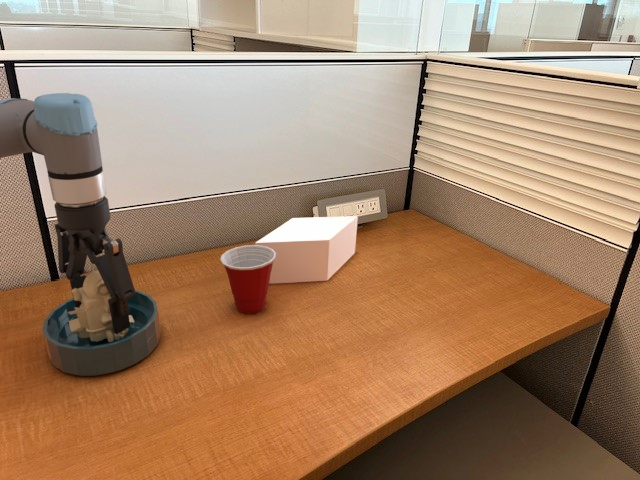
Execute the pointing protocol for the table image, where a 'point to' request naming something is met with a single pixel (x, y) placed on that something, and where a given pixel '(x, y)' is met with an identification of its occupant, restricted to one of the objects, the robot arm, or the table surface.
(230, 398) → the table surface
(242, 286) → the plastic cup
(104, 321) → the robot
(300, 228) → the white rectangular box
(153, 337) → the shallow teal bowl
